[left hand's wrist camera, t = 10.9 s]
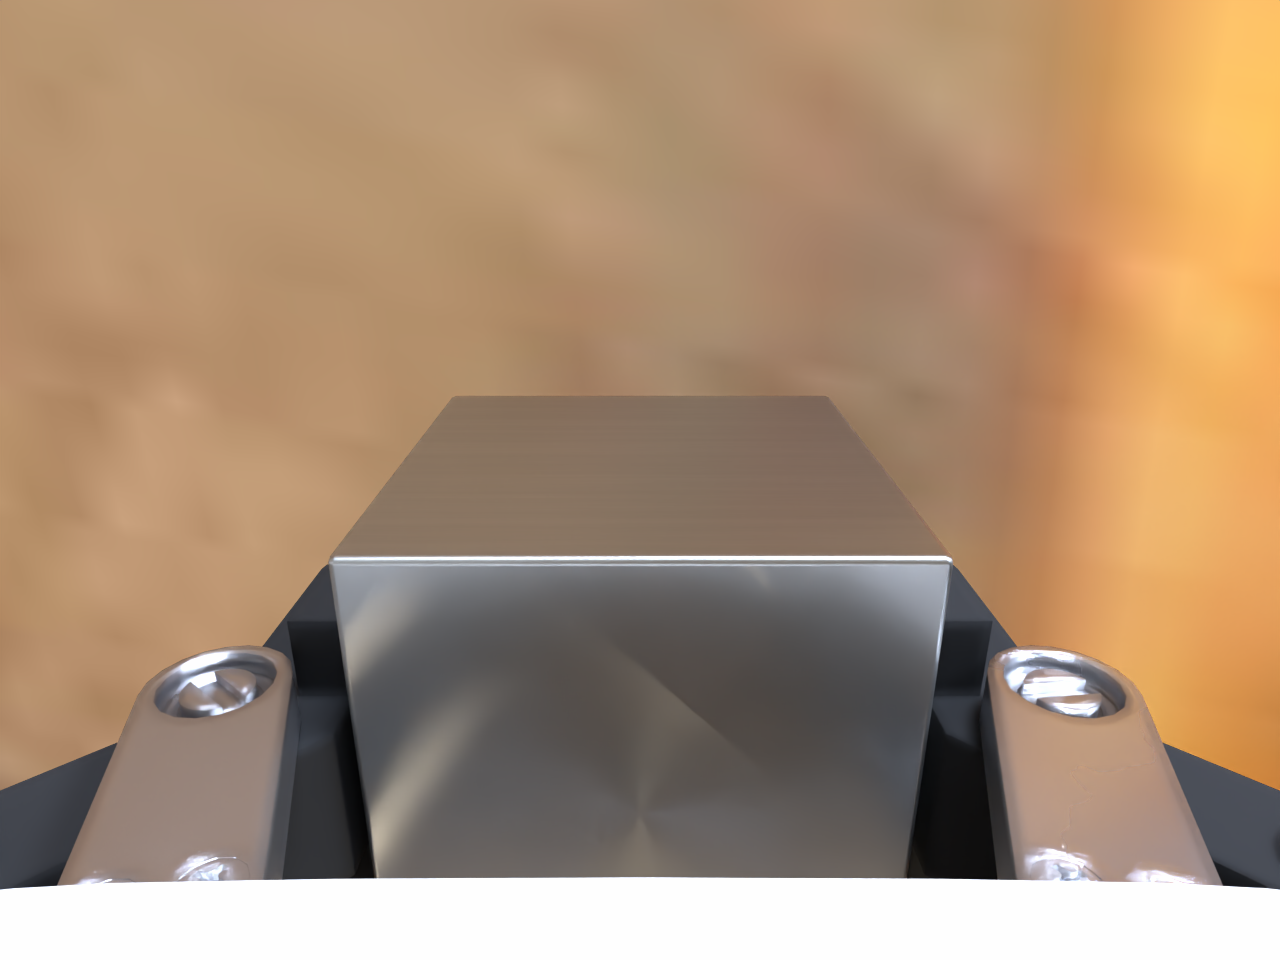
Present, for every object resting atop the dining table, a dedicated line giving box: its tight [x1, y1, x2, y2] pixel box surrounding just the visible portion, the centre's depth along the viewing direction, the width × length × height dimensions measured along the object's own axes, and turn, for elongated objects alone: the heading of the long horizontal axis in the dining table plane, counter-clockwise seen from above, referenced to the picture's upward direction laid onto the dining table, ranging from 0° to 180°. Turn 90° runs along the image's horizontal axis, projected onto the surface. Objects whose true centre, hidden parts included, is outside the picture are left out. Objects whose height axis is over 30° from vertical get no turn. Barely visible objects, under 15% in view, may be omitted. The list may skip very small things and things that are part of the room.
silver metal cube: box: [328, 396, 953, 879], centre depth 10 cm, size 5×5×5 cm
